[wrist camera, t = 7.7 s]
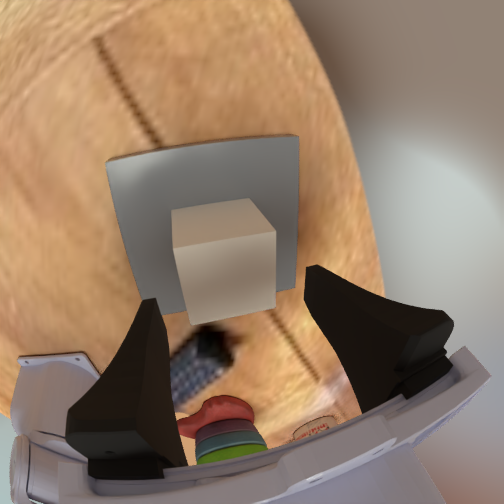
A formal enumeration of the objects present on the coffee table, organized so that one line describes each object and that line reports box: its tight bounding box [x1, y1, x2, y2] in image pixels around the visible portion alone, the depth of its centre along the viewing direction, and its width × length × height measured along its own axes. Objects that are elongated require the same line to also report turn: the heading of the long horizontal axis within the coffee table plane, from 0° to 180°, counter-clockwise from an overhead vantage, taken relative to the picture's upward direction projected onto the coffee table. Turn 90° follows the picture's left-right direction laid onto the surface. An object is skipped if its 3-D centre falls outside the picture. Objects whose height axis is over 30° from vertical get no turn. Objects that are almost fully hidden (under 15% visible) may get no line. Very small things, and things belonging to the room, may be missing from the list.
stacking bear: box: [177, 396, 268, 465], centre depth 26 cm, size 11×10×18 cm
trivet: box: [105, 134, 299, 315], centre depth 19 cm, size 12×12×1 cm
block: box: [171, 198, 276, 325], centre depth 16 cm, size 5×5×5 cm
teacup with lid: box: [294, 416, 338, 441], centre depth 40 cm, size 12×9×12 cm
